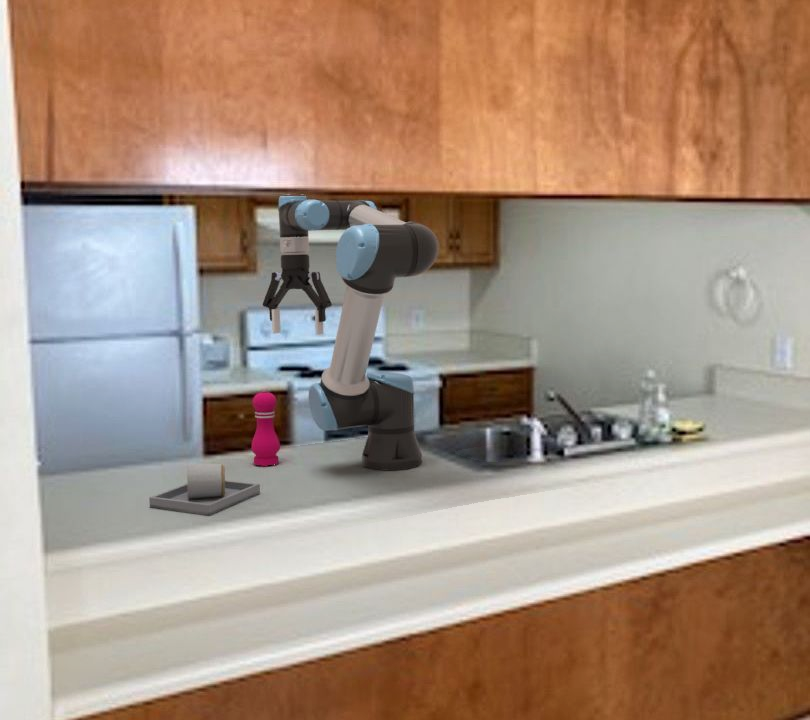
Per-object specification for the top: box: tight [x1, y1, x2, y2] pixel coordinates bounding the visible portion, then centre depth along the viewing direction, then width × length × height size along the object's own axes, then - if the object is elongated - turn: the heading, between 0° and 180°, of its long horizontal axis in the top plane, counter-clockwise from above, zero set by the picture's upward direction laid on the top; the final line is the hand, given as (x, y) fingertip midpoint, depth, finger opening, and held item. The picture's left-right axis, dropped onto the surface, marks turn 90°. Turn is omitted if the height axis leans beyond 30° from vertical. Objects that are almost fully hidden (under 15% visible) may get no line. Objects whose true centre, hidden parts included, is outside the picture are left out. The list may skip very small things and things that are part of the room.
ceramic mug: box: [186, 462, 226, 499], centre depth 203 cm, size 11×8×8 cm
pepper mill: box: [251, 385, 281, 467], centre depth 233 cm, size 7×7×20 cm
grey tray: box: [148, 479, 261, 516], centre depth 201 cm, size 16×18×2 cm
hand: (297, 333), depth 245 cm, fingers open, 13 cm apart
